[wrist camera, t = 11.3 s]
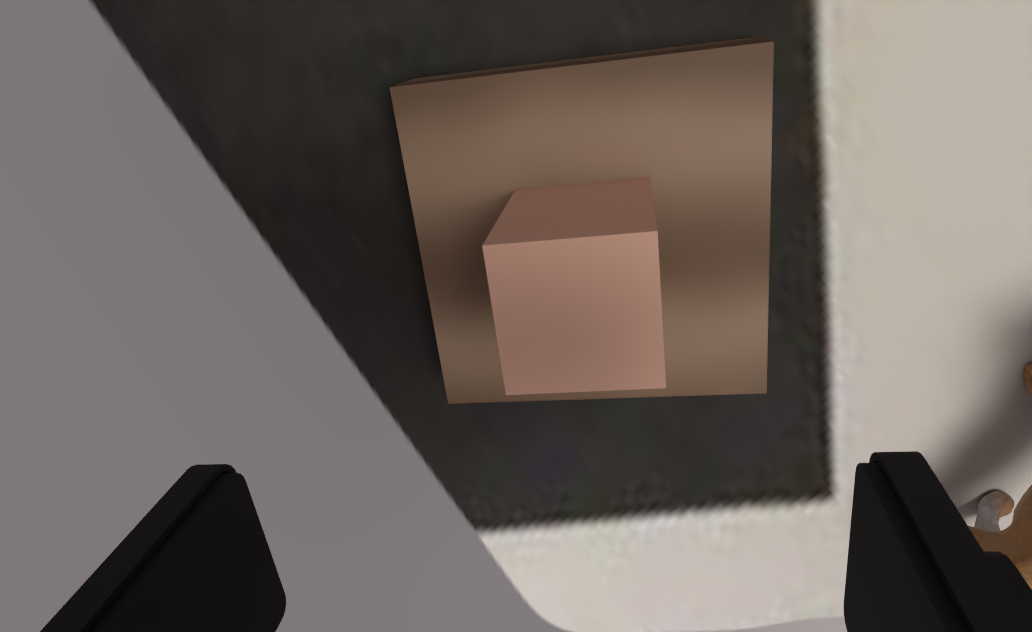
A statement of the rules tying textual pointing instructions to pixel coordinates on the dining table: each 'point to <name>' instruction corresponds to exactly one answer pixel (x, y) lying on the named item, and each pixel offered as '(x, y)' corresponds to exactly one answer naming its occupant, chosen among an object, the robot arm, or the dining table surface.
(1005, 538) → the lion figurine
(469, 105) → the walnut base
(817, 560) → the dining table surface
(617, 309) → the terracotta block
